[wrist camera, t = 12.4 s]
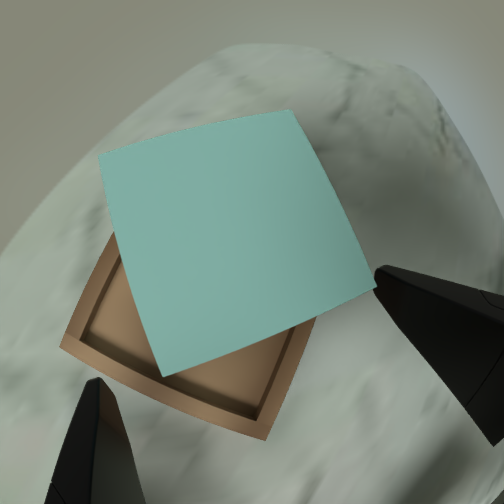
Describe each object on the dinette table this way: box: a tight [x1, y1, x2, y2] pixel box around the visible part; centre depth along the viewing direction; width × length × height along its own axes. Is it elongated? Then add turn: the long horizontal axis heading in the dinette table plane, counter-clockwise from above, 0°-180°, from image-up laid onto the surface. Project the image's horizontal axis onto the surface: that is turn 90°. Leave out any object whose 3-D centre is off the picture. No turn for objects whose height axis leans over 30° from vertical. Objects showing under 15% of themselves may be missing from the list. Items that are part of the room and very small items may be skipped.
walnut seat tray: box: [59, 232, 317, 441], centre depth 18 cm, size 13×13×2 cm
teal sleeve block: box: [98, 109, 377, 377], centre depth 12 cm, size 4×4×13 cm
